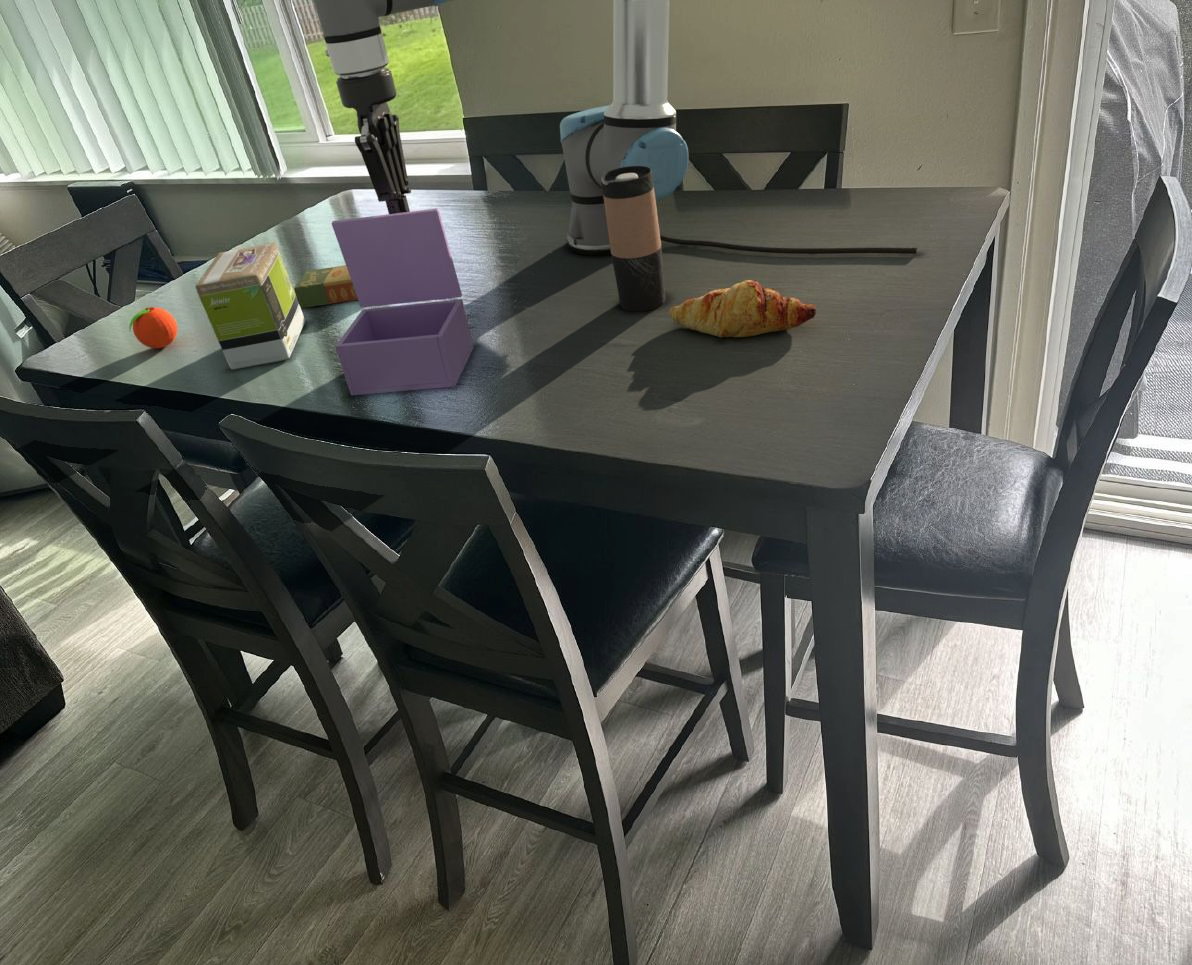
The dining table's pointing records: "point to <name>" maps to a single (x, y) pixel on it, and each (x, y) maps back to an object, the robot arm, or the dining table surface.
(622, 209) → the travel mug
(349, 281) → the carton
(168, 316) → the clementine
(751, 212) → the dining table surface
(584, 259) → the dining table surface
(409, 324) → the file box
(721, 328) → the croissant
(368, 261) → the lid
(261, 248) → the tea box
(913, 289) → the dining table surface
